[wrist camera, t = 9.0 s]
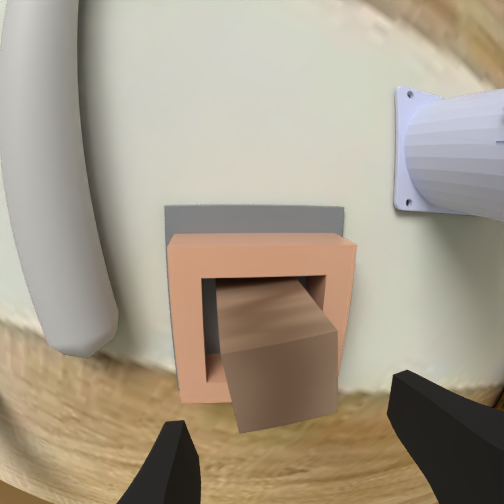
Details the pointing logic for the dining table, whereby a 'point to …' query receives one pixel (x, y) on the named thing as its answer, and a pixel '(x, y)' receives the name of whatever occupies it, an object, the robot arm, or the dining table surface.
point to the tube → (51, 177)
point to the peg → (275, 352)
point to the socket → (247, 275)
